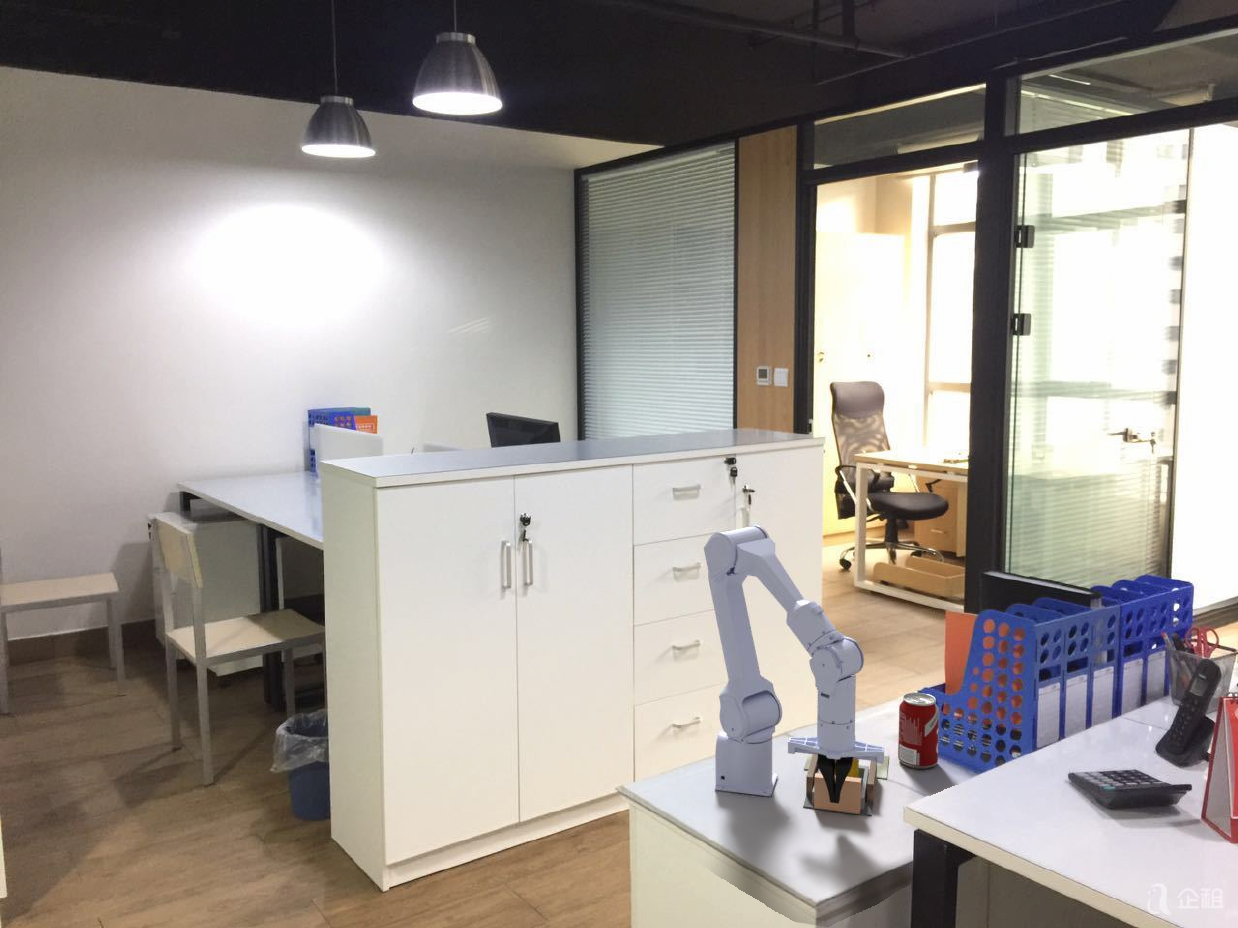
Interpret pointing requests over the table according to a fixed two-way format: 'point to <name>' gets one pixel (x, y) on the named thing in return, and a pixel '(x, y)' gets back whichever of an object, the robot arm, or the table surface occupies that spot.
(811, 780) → the track
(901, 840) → the table surface
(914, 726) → the soda can
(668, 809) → the table surface
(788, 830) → the table surface
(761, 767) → the robot arm
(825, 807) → the box
